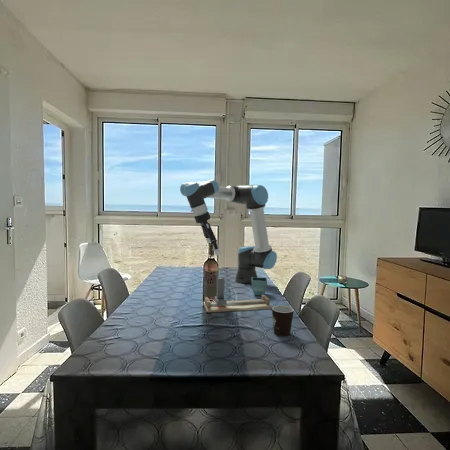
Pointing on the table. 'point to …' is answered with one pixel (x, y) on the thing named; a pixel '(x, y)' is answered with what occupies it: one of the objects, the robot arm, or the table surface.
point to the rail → (238, 305)
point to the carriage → (220, 291)
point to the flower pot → (259, 285)
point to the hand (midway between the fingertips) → (215, 252)
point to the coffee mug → (282, 320)
